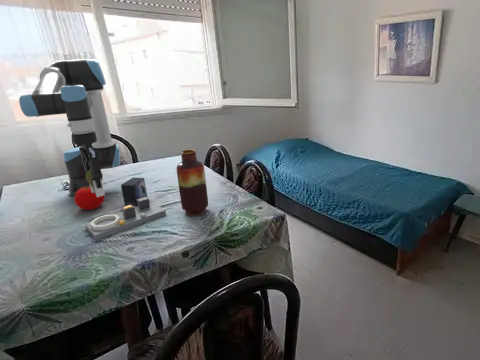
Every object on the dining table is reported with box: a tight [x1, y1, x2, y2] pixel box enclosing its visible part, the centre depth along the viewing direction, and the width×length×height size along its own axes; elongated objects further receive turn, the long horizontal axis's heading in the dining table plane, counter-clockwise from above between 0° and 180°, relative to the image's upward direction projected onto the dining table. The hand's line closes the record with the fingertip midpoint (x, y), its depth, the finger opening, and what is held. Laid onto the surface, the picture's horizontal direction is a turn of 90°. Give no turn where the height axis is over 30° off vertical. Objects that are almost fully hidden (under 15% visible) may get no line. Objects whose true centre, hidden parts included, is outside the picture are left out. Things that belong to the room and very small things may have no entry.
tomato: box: [73, 186, 106, 210], centre depth 135 cm, size 11×12×10 cm
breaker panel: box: [84, 201, 167, 241], centre depth 120 cm, size 13×28×4 cm, turn 131°
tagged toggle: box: [121, 205, 136, 219], centre depth 119 cm, size 3×4×4 cm
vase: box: [175, 149, 209, 217], centre depth 121 cm, size 11×11×26 cm
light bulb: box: [86, 170, 104, 194], centre depth 110 cm, size 6×6×10 cm
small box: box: [120, 177, 148, 207], centre depth 138 cm, size 11×6×10 cm, turn 168°
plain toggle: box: [137, 196, 150, 210], centre depth 127 cm, size 3×4×4 cm
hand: (98, 193), depth 111 cm, fingers closed on light bulb, 5 cm apart
